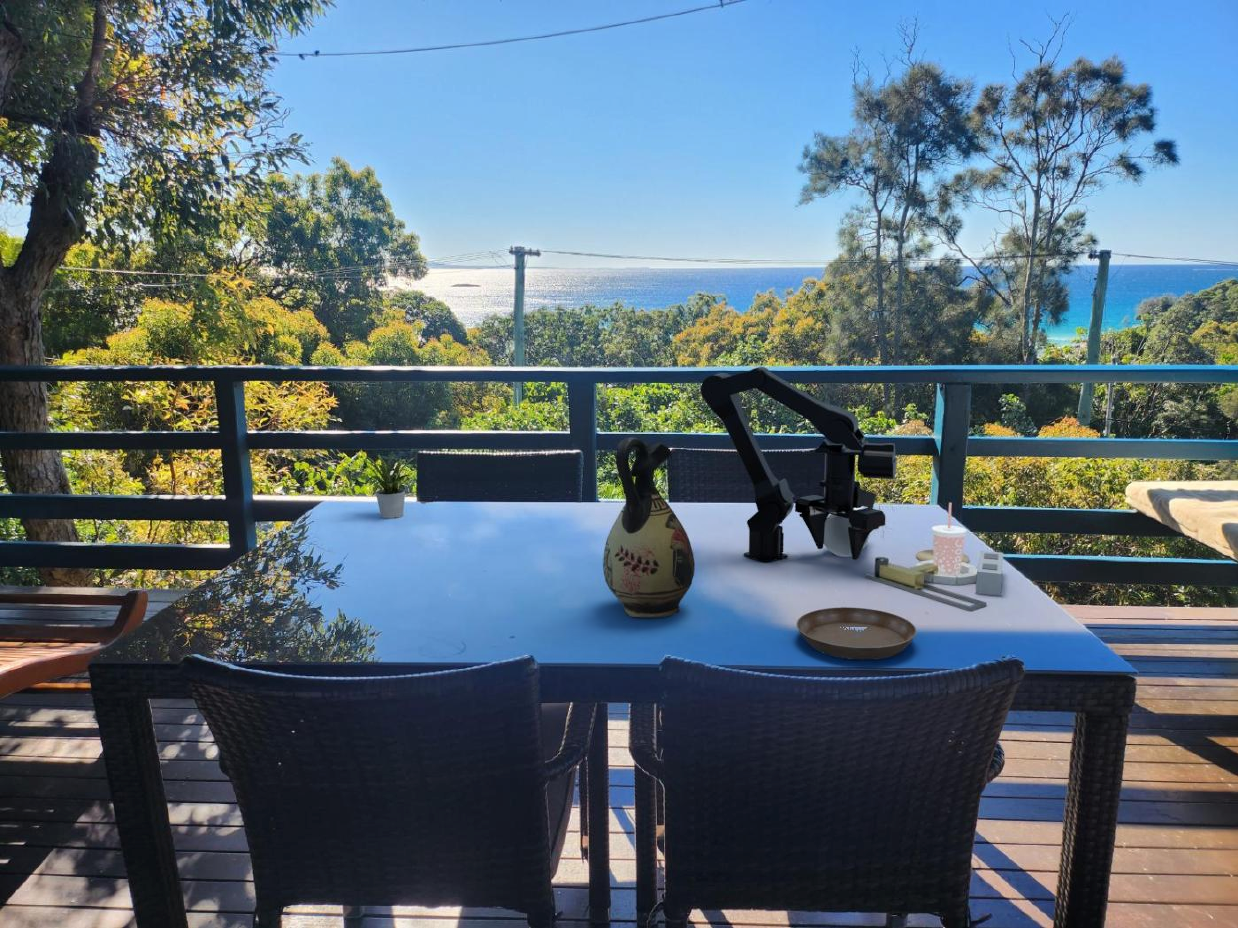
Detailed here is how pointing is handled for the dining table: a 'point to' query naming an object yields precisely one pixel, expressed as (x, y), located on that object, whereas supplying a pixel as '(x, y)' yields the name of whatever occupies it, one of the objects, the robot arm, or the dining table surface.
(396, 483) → the house plant
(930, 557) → the coaster
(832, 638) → the plant saucer
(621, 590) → the ceramic jug
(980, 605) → the rail
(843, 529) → the foam cup
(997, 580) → the socket
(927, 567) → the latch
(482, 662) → the dining table surface
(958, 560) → the beverage cup
